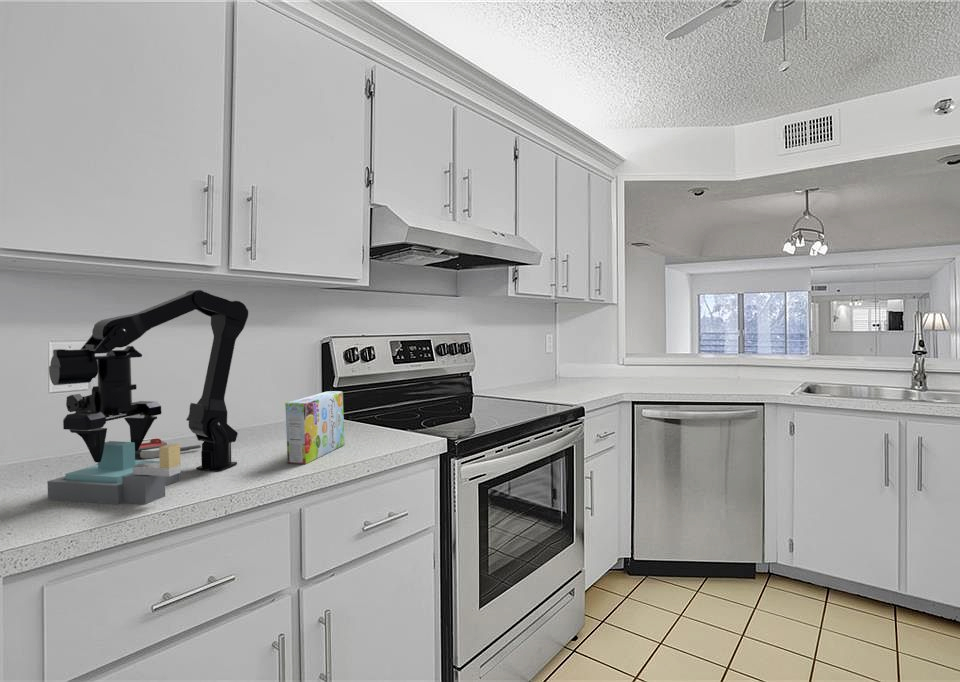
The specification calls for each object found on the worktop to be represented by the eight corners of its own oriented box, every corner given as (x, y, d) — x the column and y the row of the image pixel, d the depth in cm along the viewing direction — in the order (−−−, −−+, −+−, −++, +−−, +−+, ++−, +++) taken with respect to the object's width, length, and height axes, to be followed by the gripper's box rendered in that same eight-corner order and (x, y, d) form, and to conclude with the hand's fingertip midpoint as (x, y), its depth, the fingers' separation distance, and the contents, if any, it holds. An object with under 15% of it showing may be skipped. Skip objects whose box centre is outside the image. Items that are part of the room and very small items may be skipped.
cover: (116, 470, 122) (115, 436, 122) (164, 473, 119) (163, 438, 119) (65, 486, 110) (64, 448, 110) (117, 489, 108) (116, 451, 107)
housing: (116, 476, 124) (116, 454, 124) (200, 481, 120) (199, 458, 120) (48, 499, 109) (47, 473, 108) (141, 505, 104) (140, 479, 104)
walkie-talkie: (113, 465, 135) (202, 452, 148) (112, 447, 135) (201, 435, 148) (106, 459, 141) (192, 446, 155) (105, 441, 141) (191, 431, 155)
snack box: (326, 444, 156) (326, 390, 155) (345, 445, 155) (344, 391, 154) (285, 463, 135) (284, 401, 135) (306, 465, 134) (305, 402, 133)
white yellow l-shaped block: (144, 470, 110) (144, 442, 110) (180, 472, 108) (179, 444, 108) (132, 474, 107) (131, 445, 107) (169, 476, 105) (168, 447, 105)
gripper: (118, 375, 125) (120, 444, 125) (37, 385, 106) (40, 466, 107) (162, 376, 123) (164, 446, 123) (87, 386, 104) (89, 469, 105)
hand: (117, 456), depth 115 cm, fingers open, 9 cm apart
